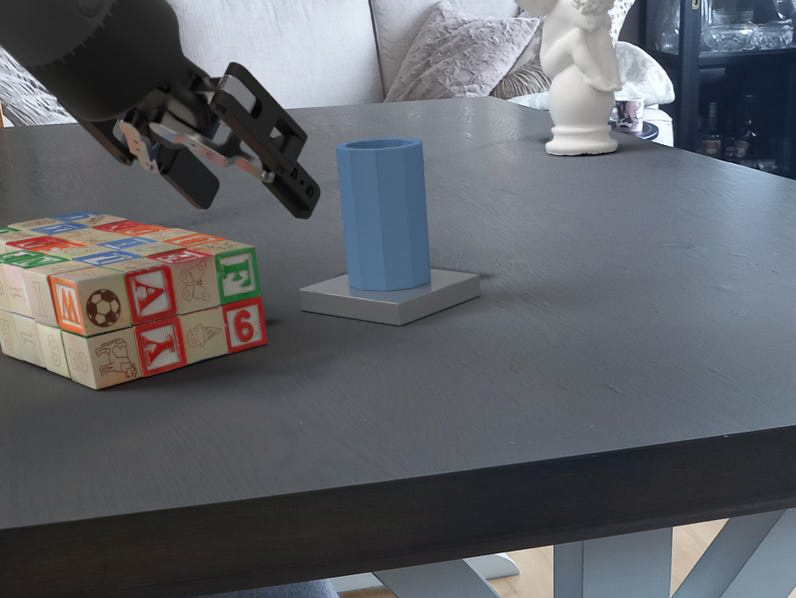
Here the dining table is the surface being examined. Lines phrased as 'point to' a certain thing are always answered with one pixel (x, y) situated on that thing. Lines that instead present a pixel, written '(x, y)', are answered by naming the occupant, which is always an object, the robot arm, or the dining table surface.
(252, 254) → the stack of blocks
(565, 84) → the cherub figurine
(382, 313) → the peg stand
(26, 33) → the robot arm
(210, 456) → the dining table surface
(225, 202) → the dining table surface
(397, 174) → the sleeve
